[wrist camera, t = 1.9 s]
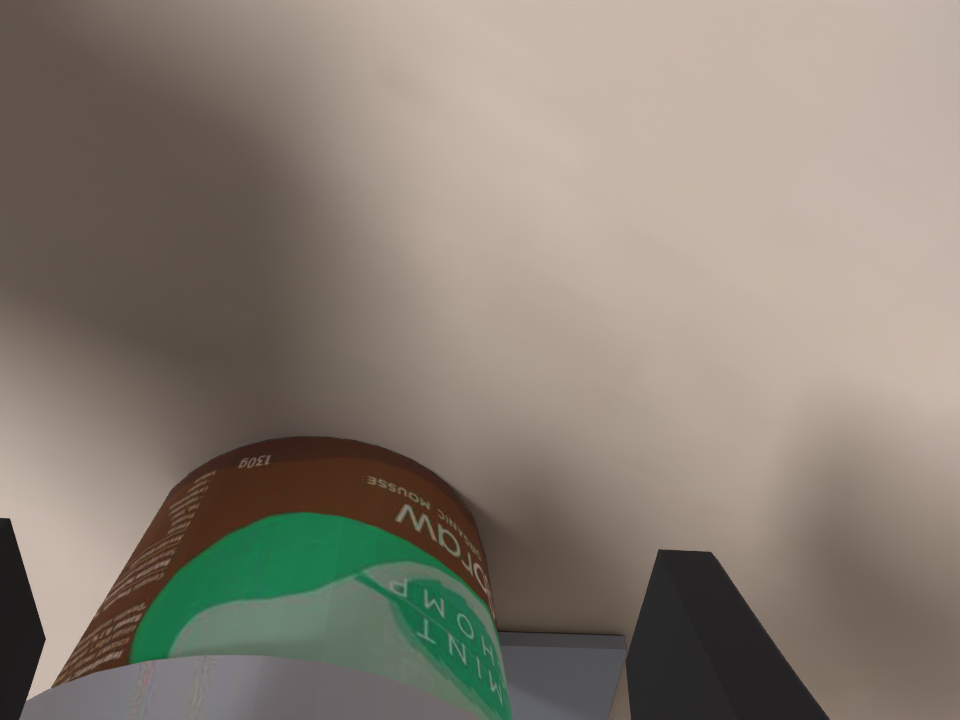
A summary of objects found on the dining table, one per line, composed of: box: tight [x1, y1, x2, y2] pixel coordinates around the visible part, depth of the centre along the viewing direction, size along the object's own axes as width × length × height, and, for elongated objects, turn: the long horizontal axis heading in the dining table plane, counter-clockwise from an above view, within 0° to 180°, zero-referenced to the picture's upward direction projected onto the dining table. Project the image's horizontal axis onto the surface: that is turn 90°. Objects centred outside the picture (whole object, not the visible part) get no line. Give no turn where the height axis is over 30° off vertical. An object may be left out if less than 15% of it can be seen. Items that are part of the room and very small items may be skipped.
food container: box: [19, 437, 513, 720], centre depth 19 cm, size 12×6×10 cm, turn 46°
